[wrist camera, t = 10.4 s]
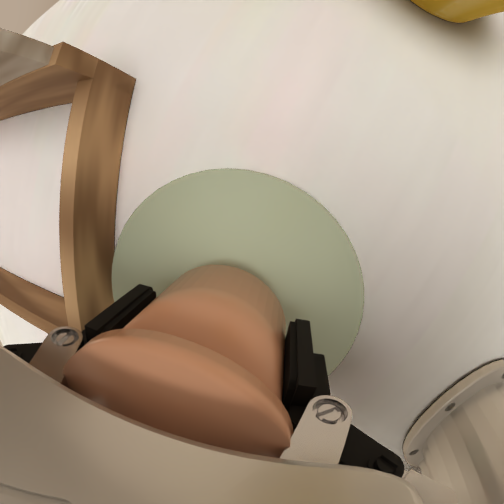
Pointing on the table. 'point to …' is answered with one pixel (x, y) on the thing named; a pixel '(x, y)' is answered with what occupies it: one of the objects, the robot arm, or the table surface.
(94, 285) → the wooden drawer
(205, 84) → the table surface
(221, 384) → the clay pot
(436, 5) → the plant pot
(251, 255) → the pale green disc
